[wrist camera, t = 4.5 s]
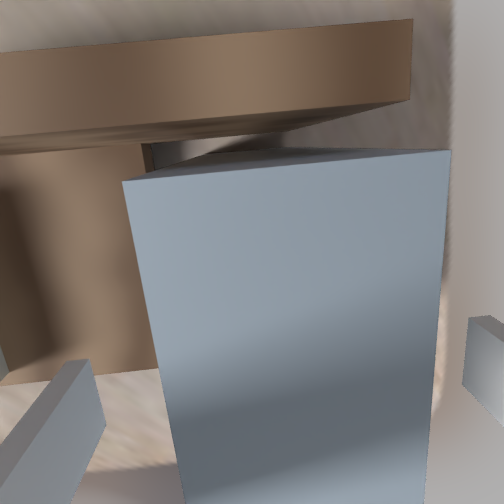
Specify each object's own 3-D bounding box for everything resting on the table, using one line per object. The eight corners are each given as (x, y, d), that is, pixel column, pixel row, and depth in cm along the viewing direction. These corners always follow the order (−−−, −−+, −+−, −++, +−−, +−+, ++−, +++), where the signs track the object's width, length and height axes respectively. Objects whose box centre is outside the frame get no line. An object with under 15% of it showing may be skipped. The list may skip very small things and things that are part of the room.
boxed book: (225, 343, 27) (219, 688, 10) (201, 155, 23) (118, 181, 6) (297, 335, 27) (413, 659, 10) (286, 147, 23) (454, 149, 6)
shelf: (-48, 372, 26) (-433, 686, 11) (-140, 144, 21) (-1066, 140, 6) (299, 333, 27) (389, 575, 12) (287, 106, 22) (412, 18, 7)
